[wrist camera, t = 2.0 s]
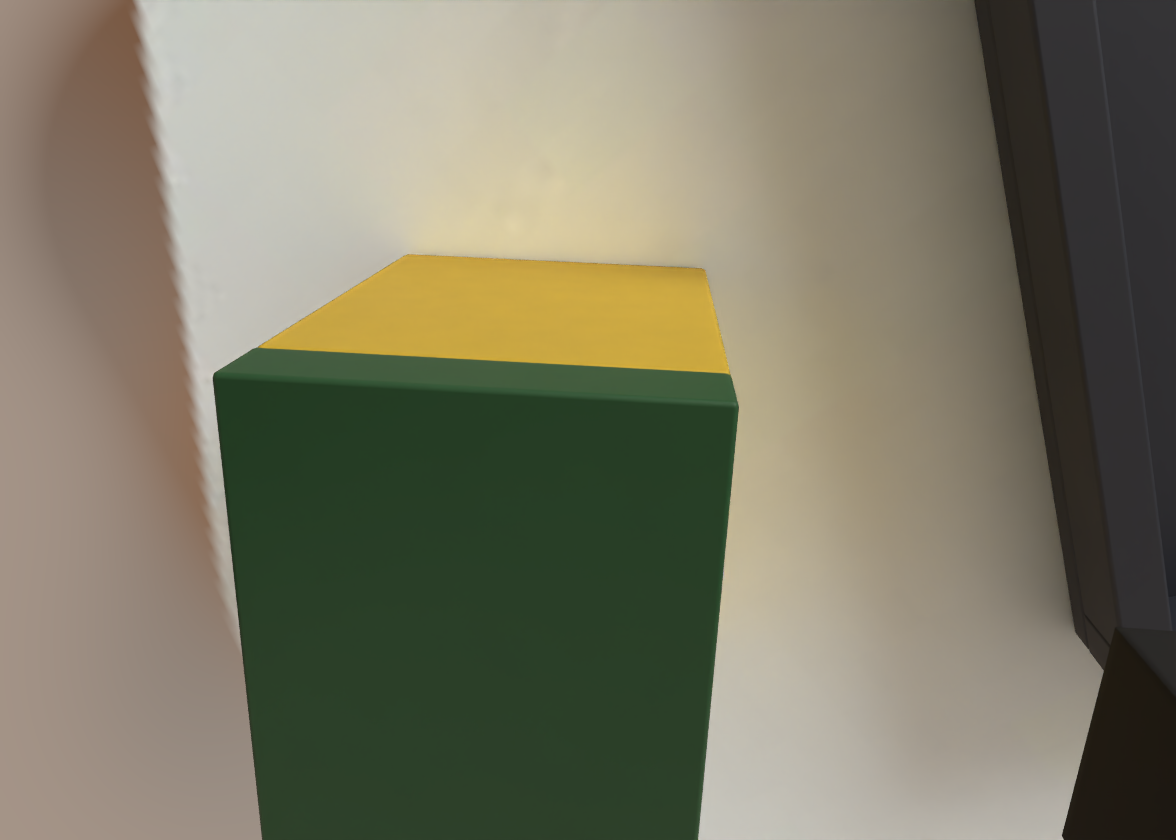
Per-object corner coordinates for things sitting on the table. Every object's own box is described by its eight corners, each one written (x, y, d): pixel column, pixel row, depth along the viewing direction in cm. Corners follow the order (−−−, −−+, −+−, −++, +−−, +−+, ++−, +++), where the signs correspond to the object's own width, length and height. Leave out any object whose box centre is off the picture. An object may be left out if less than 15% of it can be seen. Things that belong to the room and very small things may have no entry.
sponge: (404, 253, 15) (209, 372, 9) (705, 268, 15) (739, 402, 8) (416, 618, 18) (269, 931, 11) (677, 637, 17) (686, 970, 11)
